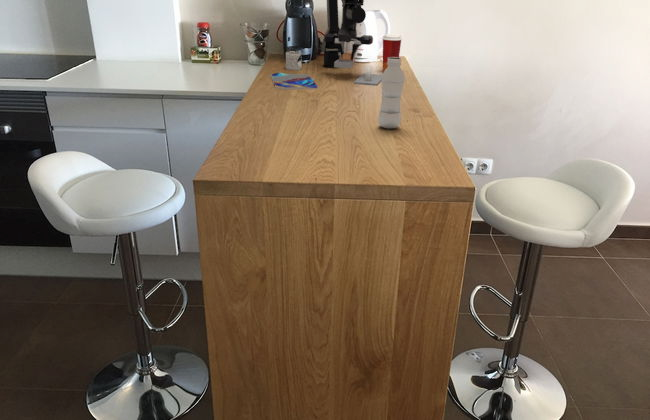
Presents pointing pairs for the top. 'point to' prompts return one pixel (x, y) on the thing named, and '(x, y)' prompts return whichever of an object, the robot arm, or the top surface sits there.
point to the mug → (293, 60)
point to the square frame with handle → (345, 61)
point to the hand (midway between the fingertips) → (347, 60)
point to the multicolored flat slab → (293, 81)
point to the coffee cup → (390, 47)
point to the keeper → (369, 78)
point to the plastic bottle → (391, 94)
